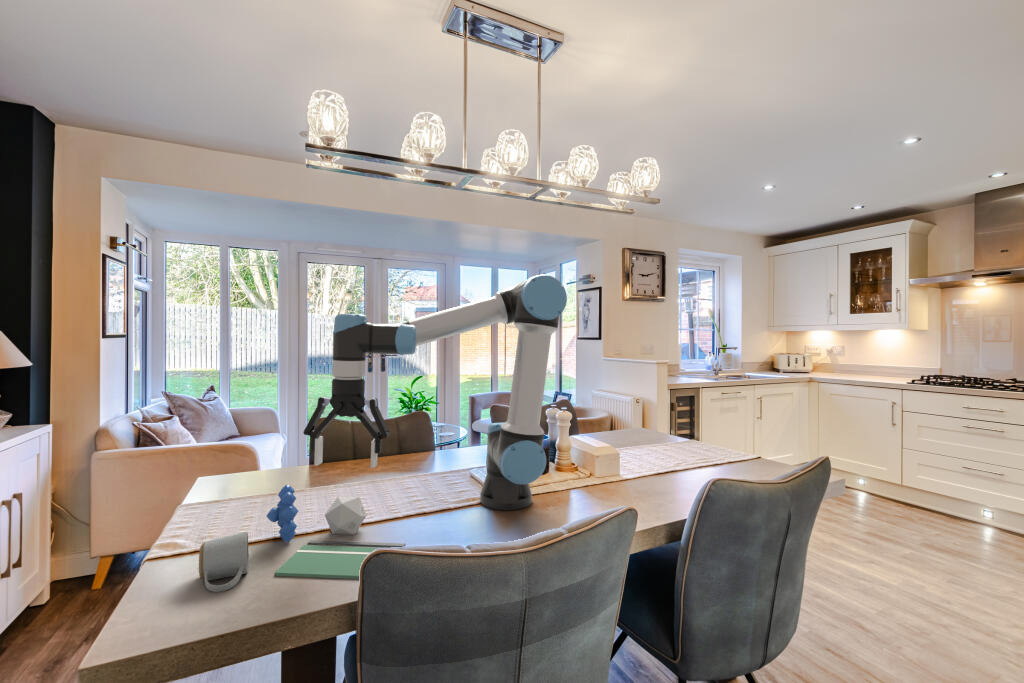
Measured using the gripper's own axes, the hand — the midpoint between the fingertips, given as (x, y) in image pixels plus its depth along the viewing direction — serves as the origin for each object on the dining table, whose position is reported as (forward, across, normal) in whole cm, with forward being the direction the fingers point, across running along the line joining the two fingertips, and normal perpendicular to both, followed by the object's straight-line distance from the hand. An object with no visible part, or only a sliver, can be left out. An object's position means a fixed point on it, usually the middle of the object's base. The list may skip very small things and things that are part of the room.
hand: (346, 465), depth 111 cm
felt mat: (+16, -5, +15) cm, 23 cm away
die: (+16, 0, 0) cm, 16 cm away
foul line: (+16, -5, +6) cm, 18 cm away
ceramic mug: (+17, +14, +22) cm, 31 cm away
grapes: (+16, +13, +5) cm, 21 cm away
